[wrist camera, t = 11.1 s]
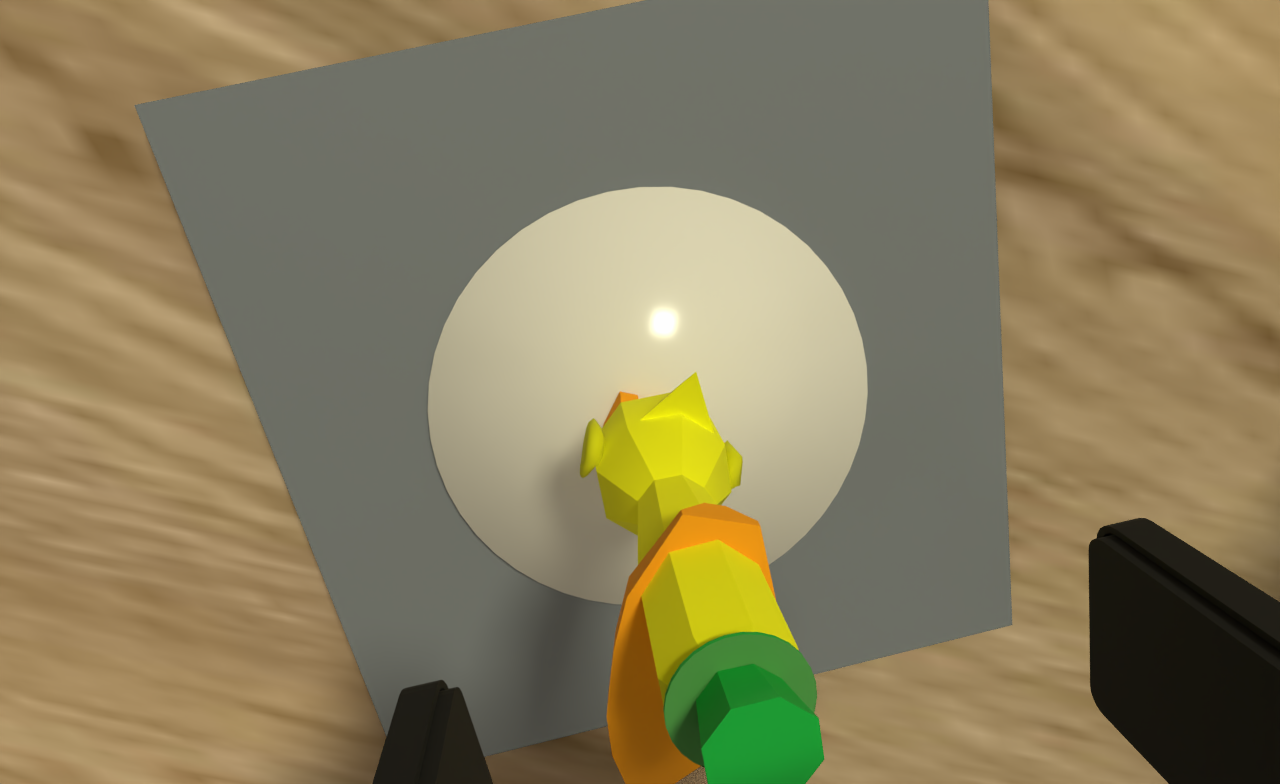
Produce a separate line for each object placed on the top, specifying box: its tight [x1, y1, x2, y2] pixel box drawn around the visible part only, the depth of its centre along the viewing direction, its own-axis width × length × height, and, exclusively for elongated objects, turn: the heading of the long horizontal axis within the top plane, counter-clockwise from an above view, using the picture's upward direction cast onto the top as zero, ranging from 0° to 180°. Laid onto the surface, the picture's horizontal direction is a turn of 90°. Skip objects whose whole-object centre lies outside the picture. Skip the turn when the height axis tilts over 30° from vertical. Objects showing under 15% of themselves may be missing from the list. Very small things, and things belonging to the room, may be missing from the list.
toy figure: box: [580, 372, 824, 784], centre depth 15 cm, size 7×4×12 cm, turn 168°
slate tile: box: [135, 0, 1012, 757], centre depth 21 cm, size 20×20×1 cm
